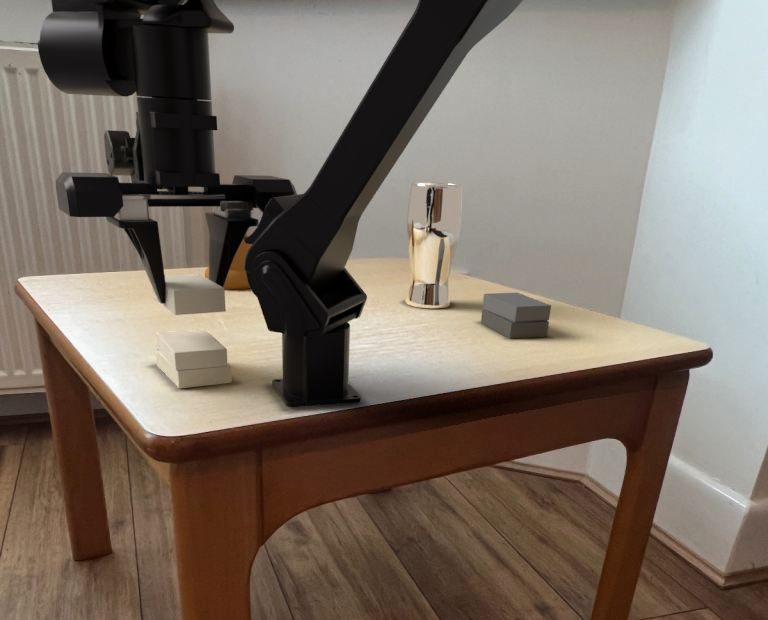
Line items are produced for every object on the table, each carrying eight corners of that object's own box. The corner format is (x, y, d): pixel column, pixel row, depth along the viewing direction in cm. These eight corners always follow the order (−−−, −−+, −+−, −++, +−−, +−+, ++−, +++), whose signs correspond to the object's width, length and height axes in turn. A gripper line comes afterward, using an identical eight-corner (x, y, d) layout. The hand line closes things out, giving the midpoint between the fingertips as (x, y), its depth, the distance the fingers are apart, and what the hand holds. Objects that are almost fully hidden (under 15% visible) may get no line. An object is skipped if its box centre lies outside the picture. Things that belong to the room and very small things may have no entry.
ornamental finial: (267, 283, 108) (243, 292, 102) (221, 278, 110) (195, 286, 104) (266, 225, 105) (241, 230, 98) (218, 220, 107) (191, 225, 100)
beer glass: (393, 304, 100) (400, 182, 93) (415, 296, 106) (423, 181, 99) (440, 312, 97) (451, 187, 90) (460, 303, 103) (472, 185, 96)
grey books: (548, 336, 88) (553, 306, 87) (509, 338, 87) (513, 307, 85) (516, 321, 95) (520, 292, 93) (479, 322, 93) (482, 293, 92)
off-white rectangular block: (225, 311, 64) (224, 288, 63) (175, 315, 62) (173, 290, 61) (200, 295, 70) (199, 273, 69) (153, 298, 68) (151, 275, 67)
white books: (232, 383, 67) (231, 348, 66) (178, 389, 65) (175, 353, 63) (206, 360, 73) (204, 328, 71) (155, 365, 70) (152, 332, 69)
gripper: (250, 105, 69) (255, 279, 76) (31, 92, 60) (61, 289, 68) (299, 106, 61) (300, 301, 68) (54, 91, 52) (84, 316, 59)
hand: (189, 300), depth 66 cm, fingers closed on off-white rectangular block, 4 cm apart
